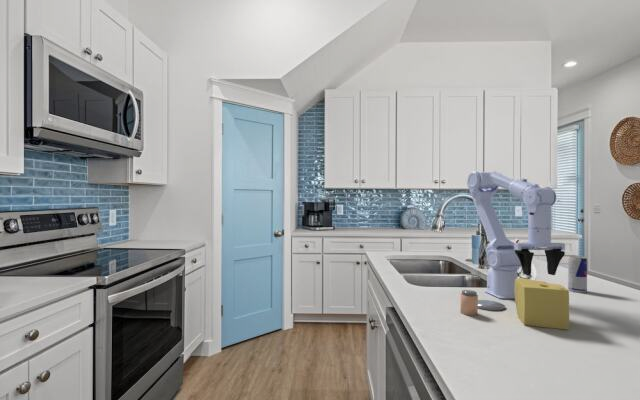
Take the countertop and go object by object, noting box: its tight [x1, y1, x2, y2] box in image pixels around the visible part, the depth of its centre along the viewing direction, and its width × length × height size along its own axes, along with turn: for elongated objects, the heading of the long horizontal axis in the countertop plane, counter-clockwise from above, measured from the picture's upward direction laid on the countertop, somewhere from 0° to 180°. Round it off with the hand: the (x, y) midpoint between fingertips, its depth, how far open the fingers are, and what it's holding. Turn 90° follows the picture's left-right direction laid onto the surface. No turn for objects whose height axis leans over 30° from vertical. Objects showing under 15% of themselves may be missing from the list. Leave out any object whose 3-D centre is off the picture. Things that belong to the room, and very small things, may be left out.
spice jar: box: [460, 289, 479, 317], centre depth 98 cm, size 4×4×6 cm
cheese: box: [514, 278, 570, 330], centre depth 92 cm, size 10×11×10 cm
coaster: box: [478, 299, 506, 312], centre depth 105 cm, size 9×9×1 cm
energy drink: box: [567, 255, 588, 294], centre depth 124 cm, size 5×5×12 cm
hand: (539, 274), depth 103 cm, fingers open, 7 cm apart
